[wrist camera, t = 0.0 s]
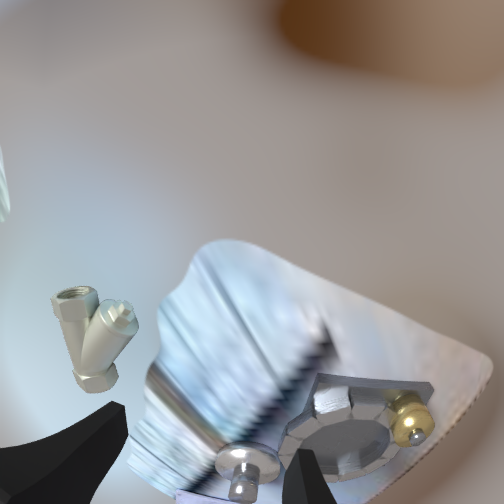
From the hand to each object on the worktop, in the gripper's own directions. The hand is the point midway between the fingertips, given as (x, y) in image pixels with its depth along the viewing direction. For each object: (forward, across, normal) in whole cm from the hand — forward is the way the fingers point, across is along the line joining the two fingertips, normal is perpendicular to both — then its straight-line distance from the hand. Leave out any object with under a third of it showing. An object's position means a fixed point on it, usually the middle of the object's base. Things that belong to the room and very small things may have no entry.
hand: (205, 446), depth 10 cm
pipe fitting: (+10, +10, +3) cm, 15 cm away
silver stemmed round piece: (+10, -3, +14) cm, 18 cm away
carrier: (+10, -11, +7) cm, 16 cm away
